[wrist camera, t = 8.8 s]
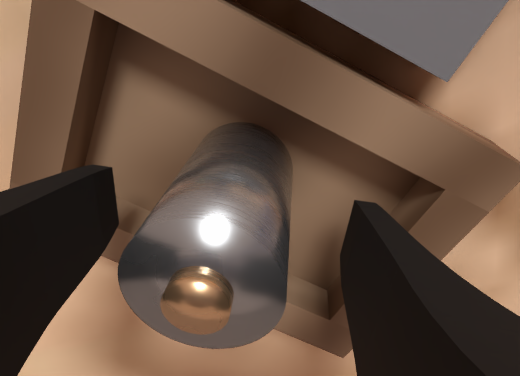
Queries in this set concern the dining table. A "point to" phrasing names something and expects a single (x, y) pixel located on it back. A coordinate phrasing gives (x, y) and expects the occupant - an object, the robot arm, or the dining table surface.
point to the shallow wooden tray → (250, 111)
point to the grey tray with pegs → (418, 27)
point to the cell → (216, 243)
